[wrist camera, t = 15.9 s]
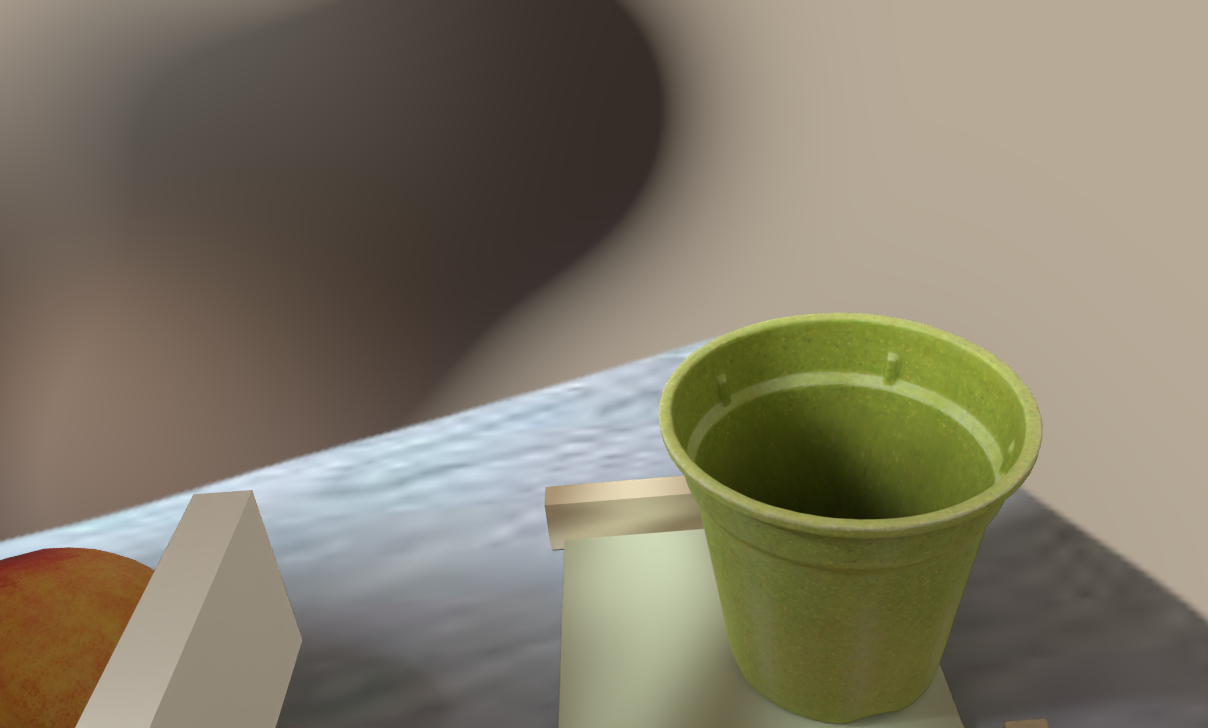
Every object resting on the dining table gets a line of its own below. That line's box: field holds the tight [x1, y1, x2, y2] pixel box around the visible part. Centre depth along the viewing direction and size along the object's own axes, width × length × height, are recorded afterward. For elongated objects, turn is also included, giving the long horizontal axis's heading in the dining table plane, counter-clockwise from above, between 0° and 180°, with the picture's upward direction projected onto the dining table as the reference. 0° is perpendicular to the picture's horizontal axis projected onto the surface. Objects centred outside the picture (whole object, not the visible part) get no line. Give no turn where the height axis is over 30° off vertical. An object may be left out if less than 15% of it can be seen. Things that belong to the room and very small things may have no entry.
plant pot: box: [659, 313, 1042, 723], centre depth 28 cm, size 9×9×9 cm
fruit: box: [0, 547, 154, 728], centre depth 27 cm, size 8×8×8 cm
